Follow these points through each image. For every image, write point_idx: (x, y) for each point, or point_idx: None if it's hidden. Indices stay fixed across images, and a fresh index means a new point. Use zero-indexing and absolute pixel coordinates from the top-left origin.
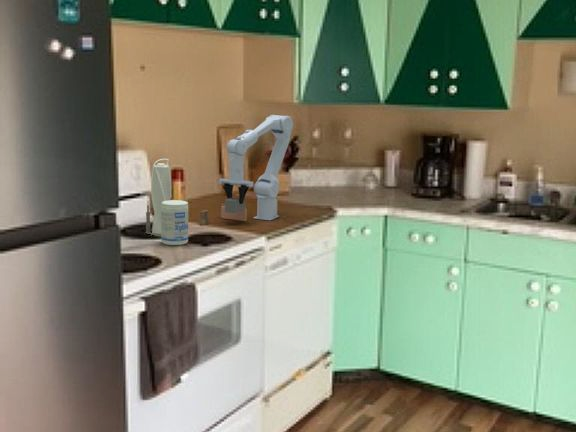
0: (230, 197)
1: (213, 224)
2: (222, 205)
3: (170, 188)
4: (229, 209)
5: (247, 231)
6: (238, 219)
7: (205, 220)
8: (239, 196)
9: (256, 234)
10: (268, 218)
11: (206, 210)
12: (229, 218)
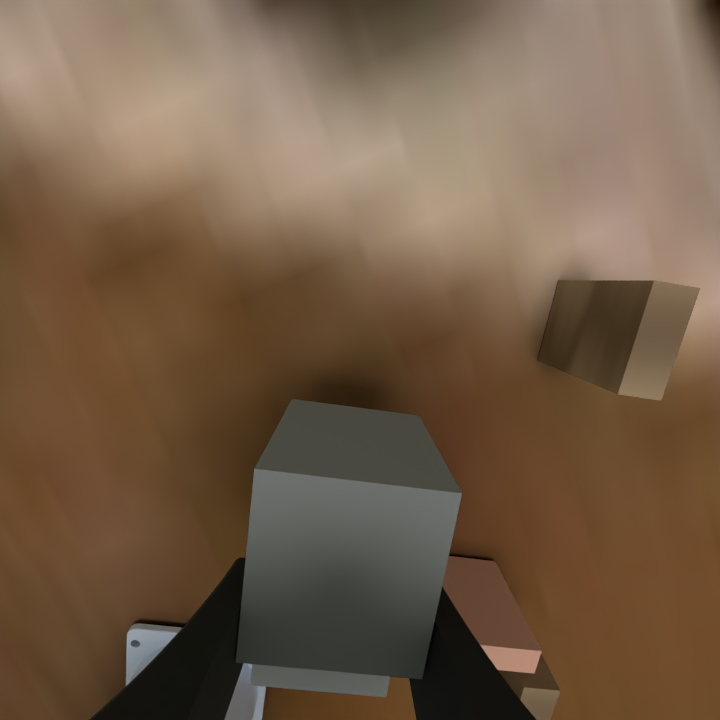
0: (429, 675)
1: (490, 354)
2: (538, 683)
3: None
4: (366, 419)
5: (135, 213)
6: None
7: (571, 317)
8: (211, 654)
9: (11, 125)
10: (152, 652)
11: (638, 382)
12: None
